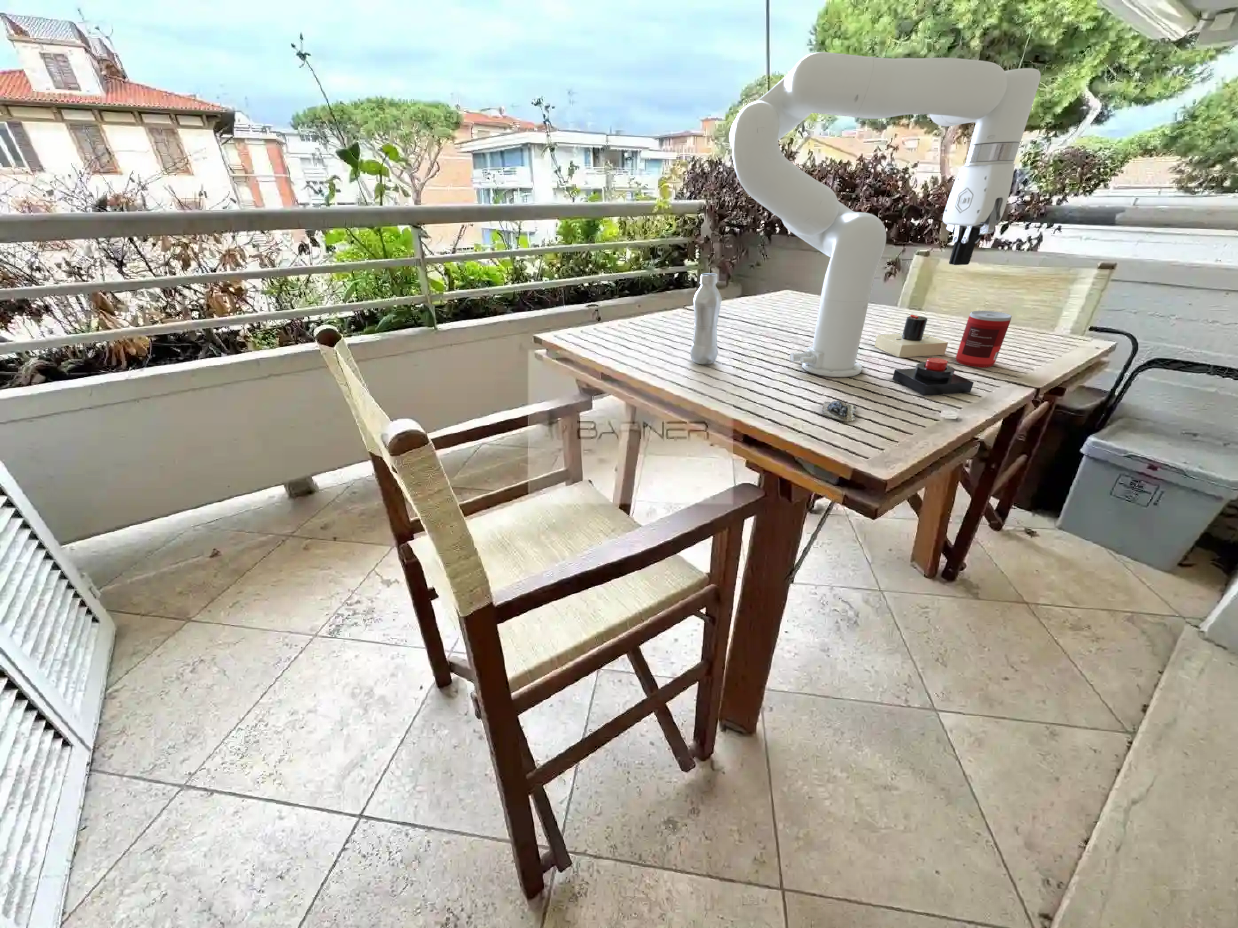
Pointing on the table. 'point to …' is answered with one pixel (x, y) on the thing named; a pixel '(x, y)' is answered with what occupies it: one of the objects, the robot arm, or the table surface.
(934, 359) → the button
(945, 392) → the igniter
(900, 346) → the beige flat block
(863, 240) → the robot arm
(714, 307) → the plastic bottle
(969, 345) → the canned food
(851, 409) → the blueberries
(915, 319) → the knob
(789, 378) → the table surface
